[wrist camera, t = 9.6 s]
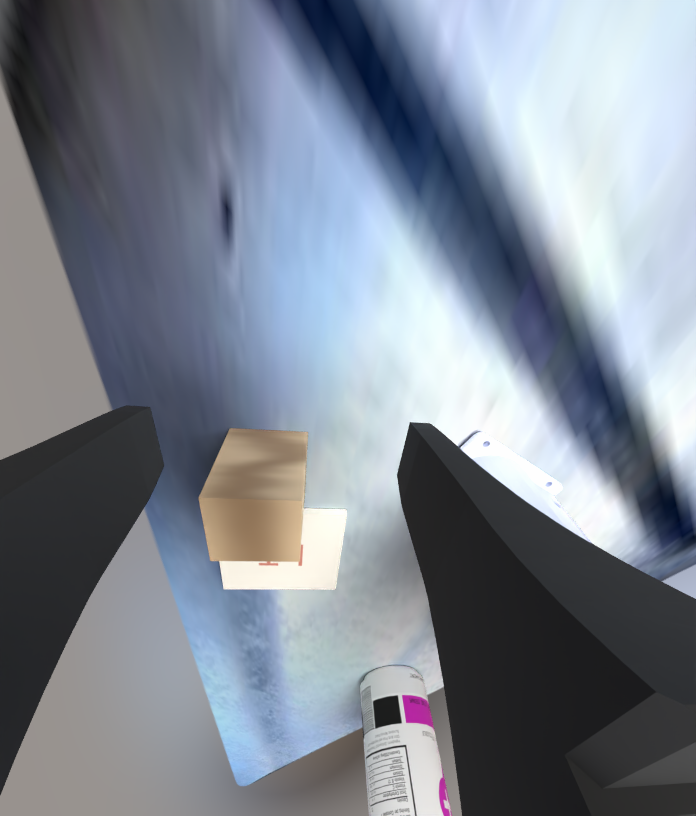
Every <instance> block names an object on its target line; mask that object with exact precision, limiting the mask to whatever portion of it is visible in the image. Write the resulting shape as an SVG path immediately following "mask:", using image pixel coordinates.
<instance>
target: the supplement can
mask: <svg viewBox="0 0 696 816" xmlns="http://www.w3.org/2000/svg"><path fill="white" fill-rule="evenodd" d="M360 695H361V709H362V723H363V737H364V751H365V765H366V780H367V792H368V793H367V794H368V808H369V816H452V813H451V808H450V803H449V798H448V794H447V789H446V784H445V779H444V774H443V770H442V765H441V760H440V755H439V751H438V746H437V742H436V736H435V732H434V727H433V722H432V717H431V712H430V707H429V703H428V698H427V693H426V688H425V684H424V680H423V677H422V676H421V675H420V674H418V673H417V671H416V670H415V669H413V668H411V667H407V666H399V665H393V666H385V667H381V668H378V669H375V670H373V671H371V672H369V673H368V674H367V675H366V676H365V678H364V681H363V682H362V683H361V685H360Z"/></svg>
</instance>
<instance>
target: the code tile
mask: <svg viewBox="0 0 696 816" xmlns="http://www.w3.org/2000/svg"><path fill="white" fill-rule="evenodd" d="M346 518H347V510H346V509H319V508H304V511H303V524H302V537H301V551H300V562H265V561H219V562H220V569H221V575H222V581H223V588H224V589H301V590H336V583H337V577H338V570H339V563H340V557H341V550H342V544H343V537H344V531H345V524H346Z"/></svg>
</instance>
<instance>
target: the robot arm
mask: <svg viewBox="0 0 696 816" xmlns="http://www.w3.org/2000/svg"><path fill="white" fill-rule="evenodd" d="M485 441H487V442H486V443H484V442H485ZM483 443H484V444H483ZM163 467H164V463H163V459H162V454H161V450H160V446H159V442H158V438H157V434H156V429H155V425H154V421H153V417H152V413H151V409H150V407H142V406H124V407H121V408H118V409H115V410H113V411H110V412H108V413H105V414H103V415H101V416H99V417H97V418H94V419H92V420H90V421H87V422H85V423H83V424H81V425H79V426H77V427H74V428H72V429H70V430H68V431H66V432H63V433H61V434H59V435H57V436H55V437H52V438H50V439H48V440H46V441H44V442H42V443H39V444H37V445H35V446H33V447H30V448H28V449H25V450H23V451H21V452H19V453H16V454H14V455H12V456H9V457H7V458H5V459H2V460H0V795H1V792H2V790H3V787H4V785H5V782H6V780H7V777H8V775H9V772H10V770H11V767H12V764H13V762H14V760H15V757H16V755H17V753H18V750H19V748H20V746H21V743H22V741H23V739H24V736H25V734H26V732H27V729H28V727H29V725H30V722H31V720H32V718H33V715H34V713H35V711H36V709H37V706H38V704H39V702H40V699H41V697H42V695H43V693H44V690H45V688H46V686H47V684H48V682H49V679H50V678H51V675H52V673H53V671H54V669H55V667H56V665H57V663H58V660H59V658H60V656H61V654H62V652H63V650H64V648H65V645H66V643H67V641H68V639H69V637H70V635H71V633H72V631H73V629H74V627H75V625H76V623H77V621H78V619H79V617H80V615H81V613H82V611H83V609H84V607H85V605H86V602H87V601H88V599H89V597H90V595H91V593H92V592H93V590H94V588H95V587H96V585H97V583H98V581H99V580H100V578H101V576H102V574H103V573H104V571H105V570H106V568H107V566H108V565H109V563H110V562H111V560H112V558H113V557H114V555H115V554H116V552H117V550H118V549H119V547H120V546H121V544H122V542H123V541H124V539H125V538H126V536H127V534H128V533H129V531H130V530H131V528H132V526H133V525H134V523H135V522H136V520H137V518H138V517H139V515H140V513H141V512H142V510H143V509H144V507H145V505H146V504H147V502H148V500H149V499H150V497H151V494H152V492H153V490H154V488H155V486H156V484H157V481H158V479H159V477H160V474H161V472H162V469H163ZM397 478H398V485H399V492H400V498H401V504H402V508H403V512H404V515H405V519H406V522H407V526H408V529H409V533H410V536H411V539H412V543H413V546H414V550H415V553H416V556H417V560H418V563H419V566H420V570H421V573H422V577H423V580H424V584H425V588H426V592H427V596H428V601H429V606H430V611H431V616H432V622H433V627H434V632H435V637H436V643H437V648H438V654H439V660H440V666H441V671H442V677H443V683H444V689H445V696H446V702H447V709H448V715H449V722H450V727H451V734H452V742H453V749H454V756H455V764H456V771H457V779H458V786H459V794H460V801H461V809H462V816H696V599H695V598H693V597H691V596H688V595H686V594H684V593H682V592H680V591H679V590H677V589H675V588H673V587H671V586H669V585H667V584H665V583H663V582H661V581H659V580H657V579H655V578H653V577H651V576H649V575H647V574H646V573H644V572H642V571H640V570H638V569H636V568H634V567H633V566H631V565H629V564H627V563H625V562H623V561H621V560H620V559H618V558H616V557H614V556H612V555H611V554H609V553H607V552H606V551H604V550H602V549H600V548H599V547H597V546H595V545H594V544H592V543H591V541H590V540H589V539H588V538H587V536H586V535H585V534H584V533H583V531H582V530H581V529H580V528H579V526H578V525H577V524H576V523H575V522H574V520H573V519H572V518H571V517H570V515H569V514H568V513H567V512H566V510H565V509H564V508H563V507H562V505H561V504H560V503H559V502H558V500H557V499H556V498H555V497H554V496H555V495H556V494H558V493H559V492H560V491H561V490H562V489H563V486H562V484H561V483H560V482H559V481H557V480H555V479H554V478H552V477H551V476H549V475H548V474H546V473H545V472H543V471H542V470H540V469H539V468H537V467H536V466H534V465H533V464H531V463H530V462H528V461H527V460H525V459H524V458H522V457H521V456H519V455H517V454H516V453H514V452H513V451H511V450H510V449H508V448H507V447H505V446H504V445H502V444H501V443H499V442H498V441H496V440H495V439H493V438H492V437H490V436H489V435H487V434H486V433H484V432H478V433H476V434H474V435H473V436H472V437H471V438H470V439H469V440H468V441H467V442H466V443H465V444H464V445H463V446H461V447H460V448H459V447H458V446H456V445H455V444H454V443H453V442H452V441H451V440H450V439H448V438H447V437H446V436H445V435H444V434H443V433H442V432H440V431H439V430H438V429H437V428H435V427H434V426H433V425H432V424H429V423H412V422H410V425H409V429H408V433H407V437H406V441H405V445H404V449H403V453H402V457H401V461H400V465H399V469H398V473H397Z"/></svg>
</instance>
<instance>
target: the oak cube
mask: <svg viewBox="0 0 696 816" xmlns="http://www.w3.org/2000/svg"><path fill="white" fill-rule="evenodd" d="M307 443H308V432H296V431H277V430H257V429H238V428H230V429H229V431H228V434H227V436H226V438H225V440H224V443H223V445H222V447H221V449H220V451H219V454H218V456H217V458H216V460H215V463H214V465H213V467H212V469H211V471H210V474H209V476H208V478H207V480H206V483H205V485H204V487H203V489H202V491H201V494H200V496H199V503H200V508H201V513H202V519H203V524H204V530H205V535H206V540H207V546H208V551H209V556H210V561H265V562H300V551H301V537H302V524H303V511H304V498H305V484H306V464H307Z"/></svg>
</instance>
